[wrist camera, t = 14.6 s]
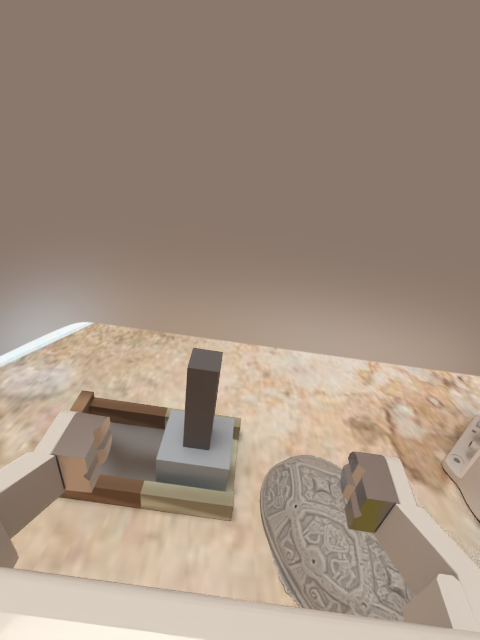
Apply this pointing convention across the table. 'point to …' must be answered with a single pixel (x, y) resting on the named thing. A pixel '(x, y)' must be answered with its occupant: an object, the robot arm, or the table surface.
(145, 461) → the bay
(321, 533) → the carved turtle shell
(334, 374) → the table surface
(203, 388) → the grey pillar on base
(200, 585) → the table surface
